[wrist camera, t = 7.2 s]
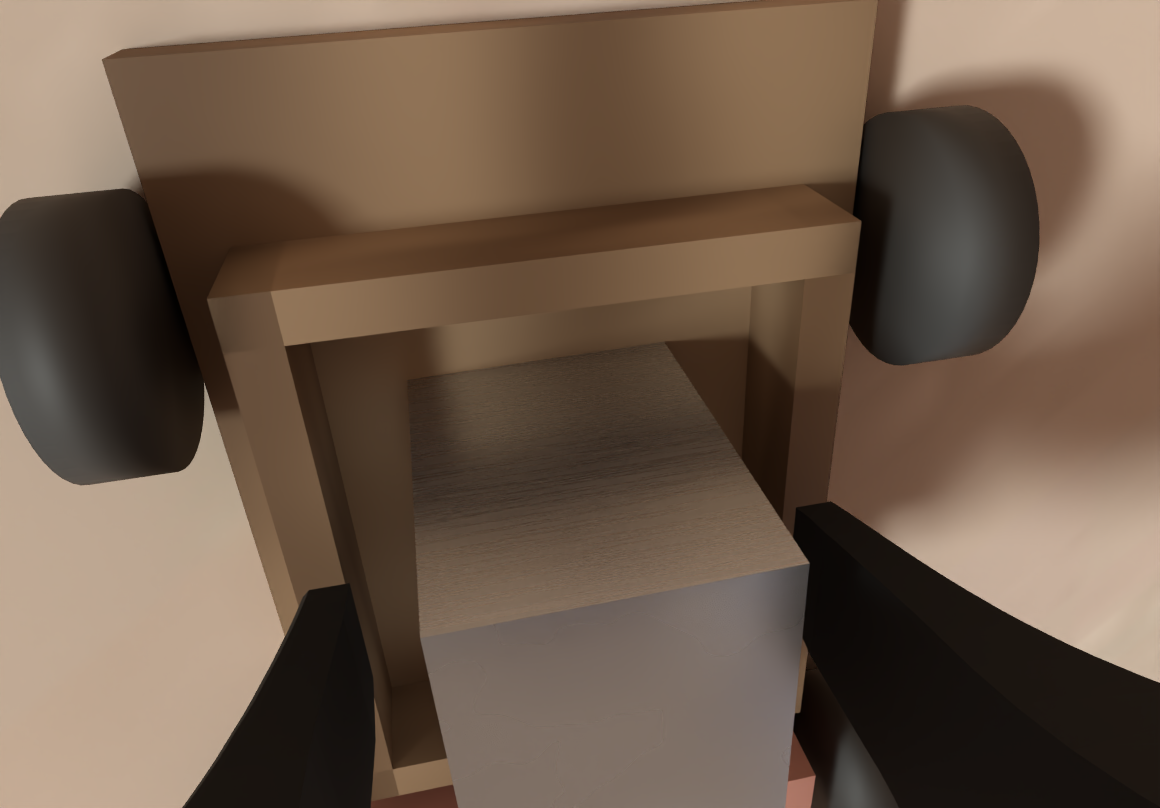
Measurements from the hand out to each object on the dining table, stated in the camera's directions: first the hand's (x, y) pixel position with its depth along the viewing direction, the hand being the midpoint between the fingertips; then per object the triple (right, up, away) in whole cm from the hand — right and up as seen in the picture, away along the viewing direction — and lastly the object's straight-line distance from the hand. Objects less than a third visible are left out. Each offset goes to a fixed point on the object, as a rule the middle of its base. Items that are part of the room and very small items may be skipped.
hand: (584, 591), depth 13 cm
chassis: (-1, 0, +4) cm, 4 cm away
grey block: (-1, +1, +3) cm, 3 cm away
